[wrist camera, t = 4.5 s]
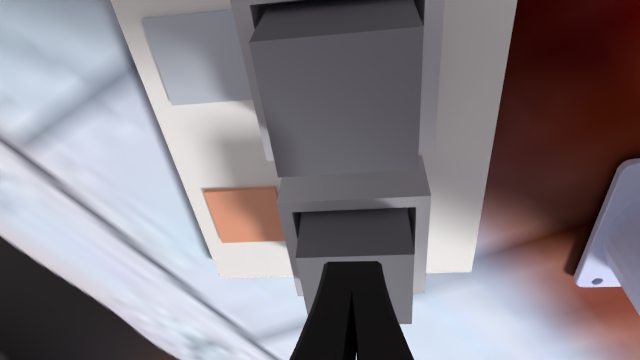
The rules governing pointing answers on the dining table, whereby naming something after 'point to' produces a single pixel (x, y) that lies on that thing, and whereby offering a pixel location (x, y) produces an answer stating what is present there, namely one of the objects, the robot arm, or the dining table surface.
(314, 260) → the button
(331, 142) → the button middle
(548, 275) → the dining table surface
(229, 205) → the button board
